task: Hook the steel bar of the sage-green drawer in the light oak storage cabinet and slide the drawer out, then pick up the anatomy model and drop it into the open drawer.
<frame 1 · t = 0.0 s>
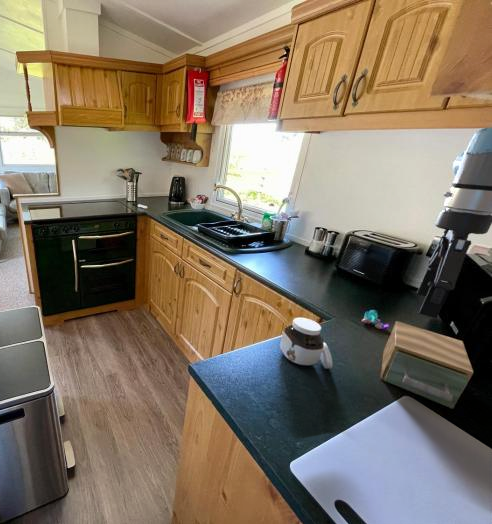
hand: (425, 304, 65), 24 cm above the countertop, tool pointing down, fingers open, 13 cm apart
drawer: (422, 370, 73), point 5 cm above the countertop, slide at 0.5 cm
spread jar: (304, 360, 82), on the countertop
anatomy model: (371, 325, 103), on the countertop
cabinet: (413, 376, 79), on the countertop
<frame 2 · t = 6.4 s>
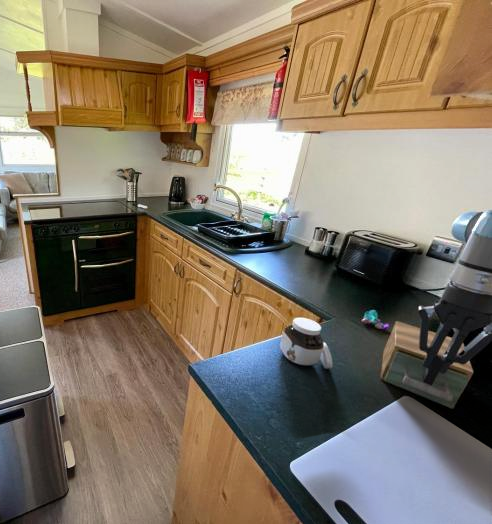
hand: (427, 380, 66), 7 cm above the countertop, tool pointing down, fingers closed
drawer: (422, 370, 73), point 5 cm above the countertop, slide at 0.6 cm, touching gripper
everything else where it was.
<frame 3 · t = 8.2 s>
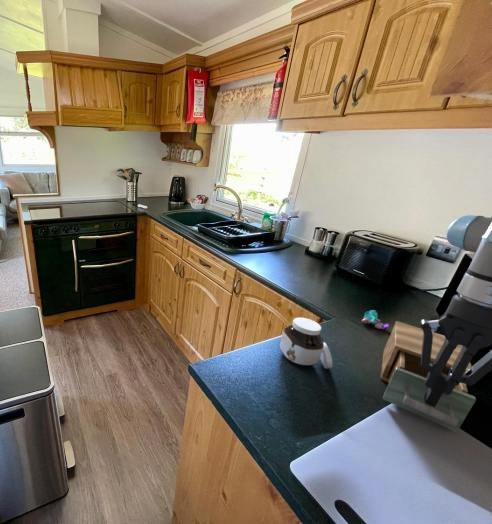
hand: (429, 401, 60), 7 cm above the countertop, tool pointing down, fingers closed
drawer: (424, 388, 67), point 5 cm above the countertop, slide at 9.0 cm, touching gripper
everything else where it was.
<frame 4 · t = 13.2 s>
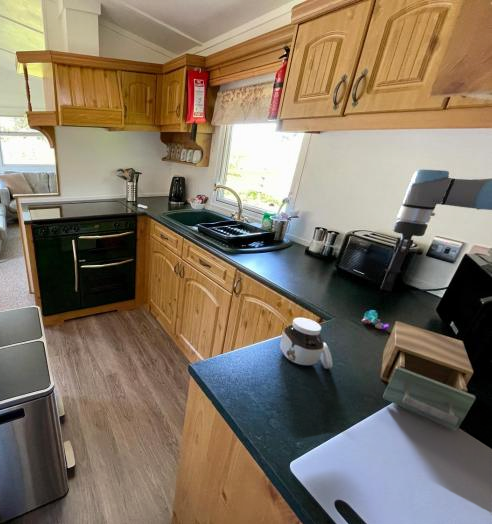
hand: (385, 289, 98), 14 cm above the countertop, tool pointing down, fingers closed
drawer: (424, 387, 67), point 5 cm above the countertop, slide at 8.6 cm
everything else where it was.
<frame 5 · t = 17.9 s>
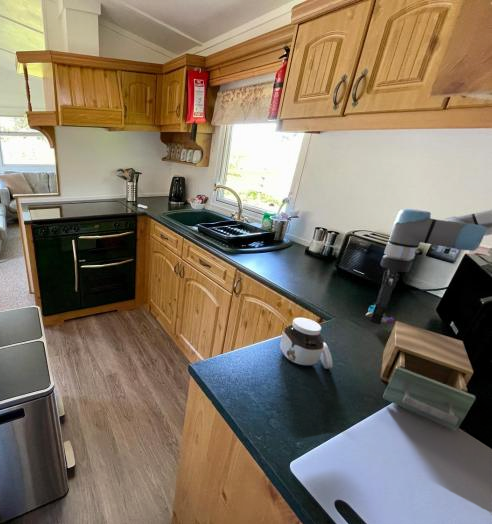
hand: (375, 318, 102), 3 cm above the countertop, tool pointing down, fingers closed on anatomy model, 8 cm apart
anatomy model: (375, 319, 102), point 3 cm above the countertop, touching gripper
everything else where it was.
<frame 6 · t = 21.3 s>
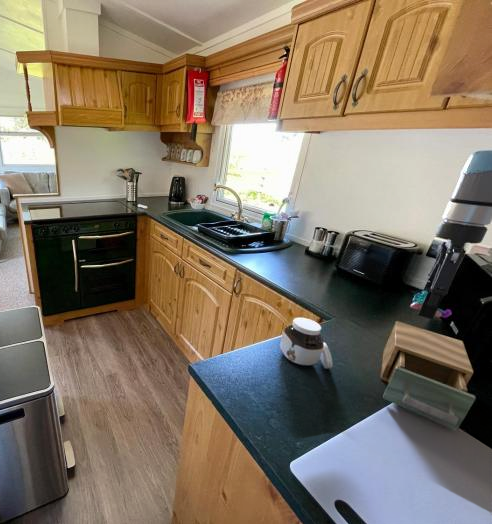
hand: (424, 310, 73), 19 cm above the countertop, tool pointing down, fingers closed on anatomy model, 8 cm apart
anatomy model: (424, 313, 73), point 19 cm above the countertop, touching gripper
everything else where it was.
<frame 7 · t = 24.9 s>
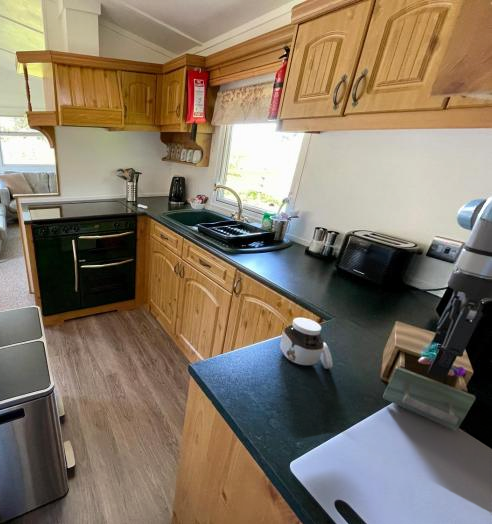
hand: (434, 366, 65), 11 cm above the countertop, tool pointing down, fingers closed on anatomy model, 8 cm apart
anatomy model: (434, 369, 65), point 11 cm above the countertop, touching gripper
everything else where it was.
when the fingers open (11 cm above the countertop, at t = 24.9 s): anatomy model drops 5 cm, resting on drawer.
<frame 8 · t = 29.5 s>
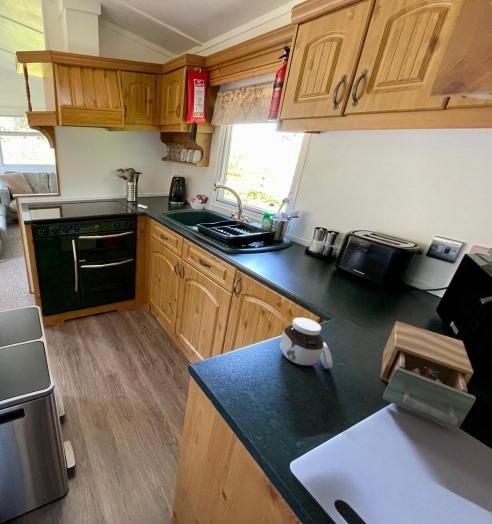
drawer: (424, 387, 67), point 5 cm above the countertop, slide at 8.8 cm, touching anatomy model
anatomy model: (424, 384, 68), point 5 cm above the countertop, touching drawer
everything else where it was.
at the end: drawer slide at 8.8 cm; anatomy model inside the target area in the drawer (0.5 cm from its centre), point 5.2 cm above the cabinet's base; the gripper is holding nothing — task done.
